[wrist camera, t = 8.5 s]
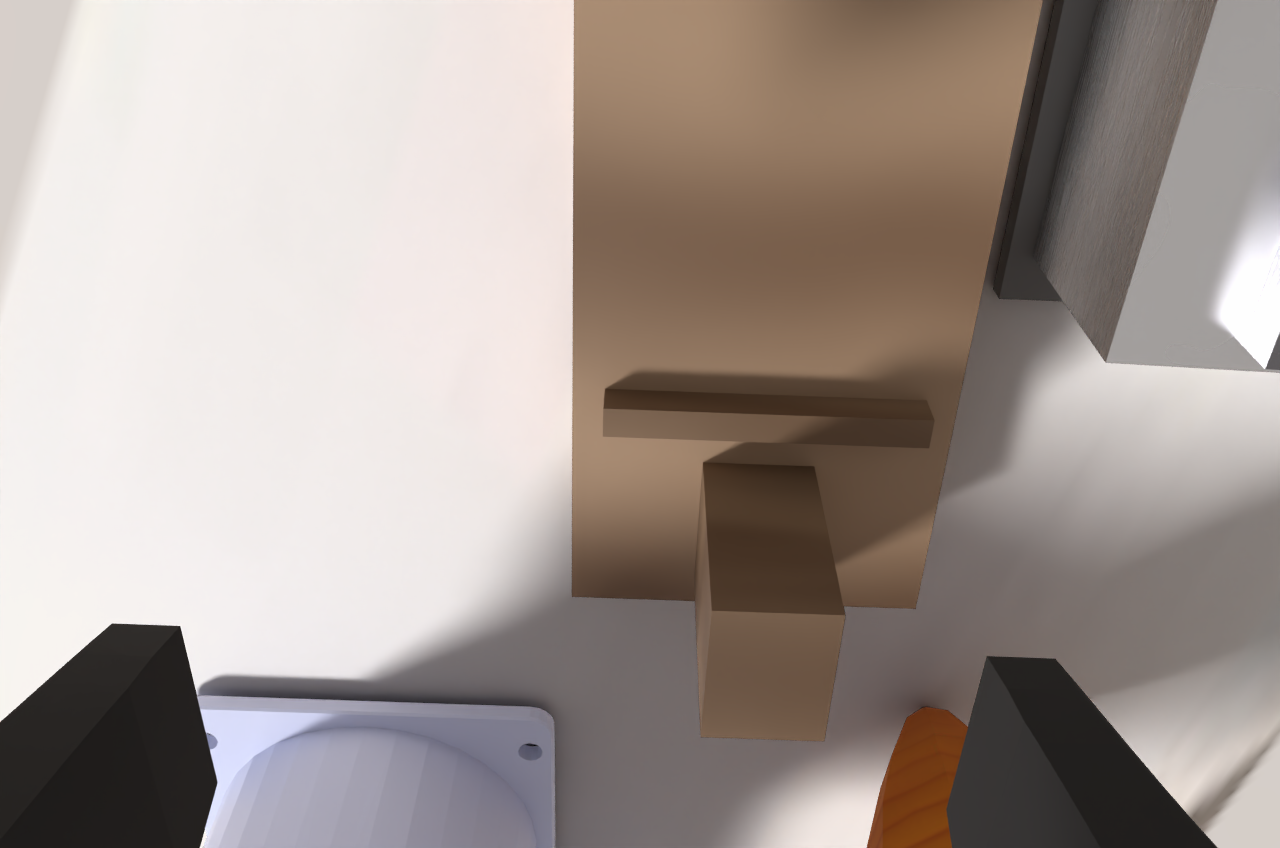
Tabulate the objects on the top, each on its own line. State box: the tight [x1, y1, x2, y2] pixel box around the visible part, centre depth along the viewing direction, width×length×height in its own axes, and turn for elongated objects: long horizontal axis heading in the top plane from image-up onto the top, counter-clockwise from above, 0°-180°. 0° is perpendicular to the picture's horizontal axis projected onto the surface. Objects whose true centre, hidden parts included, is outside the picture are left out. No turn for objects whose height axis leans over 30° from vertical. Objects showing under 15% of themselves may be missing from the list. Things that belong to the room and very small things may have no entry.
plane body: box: [572, 0, 1043, 741], centre depth 16 cm, size 12×6×6 cm, turn 178°
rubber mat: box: [993, 0, 1099, 301], centre depth 18 cm, size 7×6×1 cm
